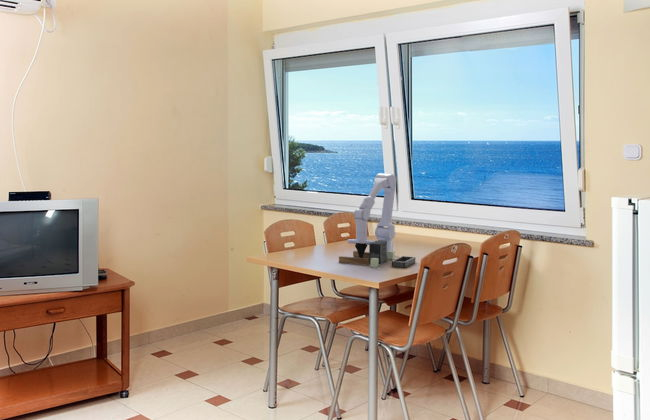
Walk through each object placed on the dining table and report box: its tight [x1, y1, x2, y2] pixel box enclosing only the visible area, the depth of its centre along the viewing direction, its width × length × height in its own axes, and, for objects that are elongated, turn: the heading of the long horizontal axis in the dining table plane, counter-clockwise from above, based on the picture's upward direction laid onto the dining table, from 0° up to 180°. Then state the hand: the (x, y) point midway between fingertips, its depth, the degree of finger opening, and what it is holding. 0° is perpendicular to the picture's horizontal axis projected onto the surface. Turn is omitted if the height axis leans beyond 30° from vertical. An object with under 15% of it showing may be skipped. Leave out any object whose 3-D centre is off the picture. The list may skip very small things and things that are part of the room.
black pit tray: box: [390, 255, 416, 269], centre depth 315 cm, size 16×7×3 cm, turn 154°
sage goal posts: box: [370, 250, 396, 268], centre depth 320 cm, size 26×3×4 cm, turn 154°
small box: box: [368, 240, 388, 265], centre depth 321 cm, size 11×6×10 cm, turn 156°
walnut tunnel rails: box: [338, 250, 371, 266], centre depth 325 cm, size 20×16×3 cm
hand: (361, 258), depth 326 cm, fingers closed
